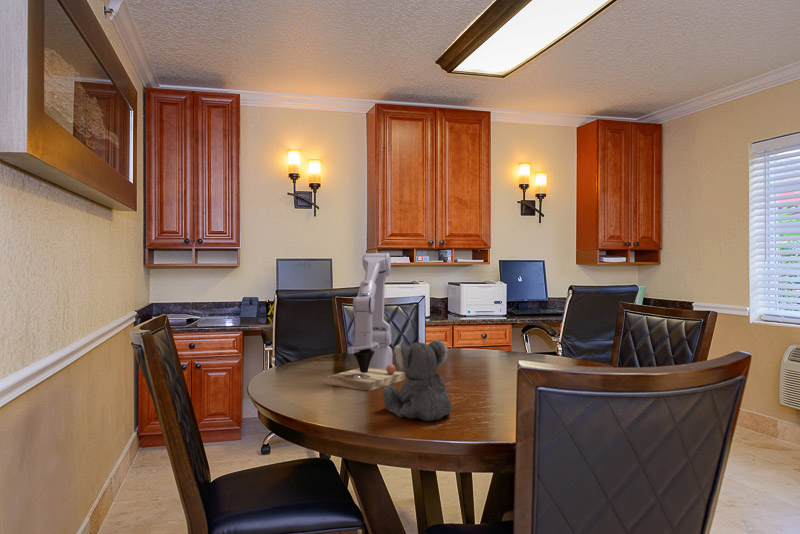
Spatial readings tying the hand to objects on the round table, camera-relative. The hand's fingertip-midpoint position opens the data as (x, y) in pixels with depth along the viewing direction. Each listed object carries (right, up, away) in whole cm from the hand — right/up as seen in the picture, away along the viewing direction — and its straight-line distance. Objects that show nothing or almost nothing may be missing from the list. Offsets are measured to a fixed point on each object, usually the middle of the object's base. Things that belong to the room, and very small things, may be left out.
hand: (364, 372), depth 175 cm
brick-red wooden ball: (+9, +1, +1) cm, 9 cm away
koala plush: (+18, -4, -38) cm, 42 cm away
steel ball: (-2, -2, -4) cm, 4 cm away
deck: (+1, -3, +1) cm, 4 cm away
